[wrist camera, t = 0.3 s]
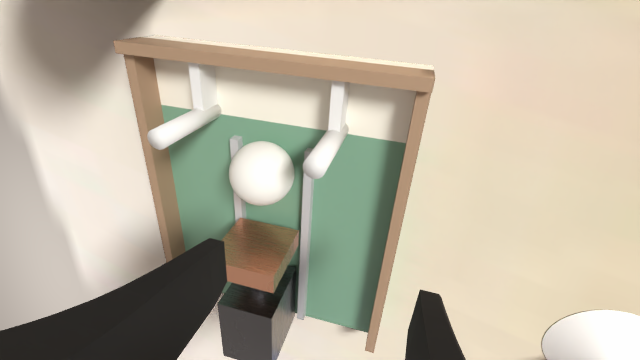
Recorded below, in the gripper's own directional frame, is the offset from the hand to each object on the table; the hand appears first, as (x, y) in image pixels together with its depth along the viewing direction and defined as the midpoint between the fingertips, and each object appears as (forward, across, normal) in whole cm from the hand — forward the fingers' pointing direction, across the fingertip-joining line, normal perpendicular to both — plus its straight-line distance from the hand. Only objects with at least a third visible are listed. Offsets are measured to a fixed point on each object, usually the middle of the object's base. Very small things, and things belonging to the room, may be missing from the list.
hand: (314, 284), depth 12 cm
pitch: (+10, +5, +3) cm, 12 cm away
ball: (+7, +5, 0) cm, 9 cm away
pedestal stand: (+8, +5, +8) cm, 13 cm away
